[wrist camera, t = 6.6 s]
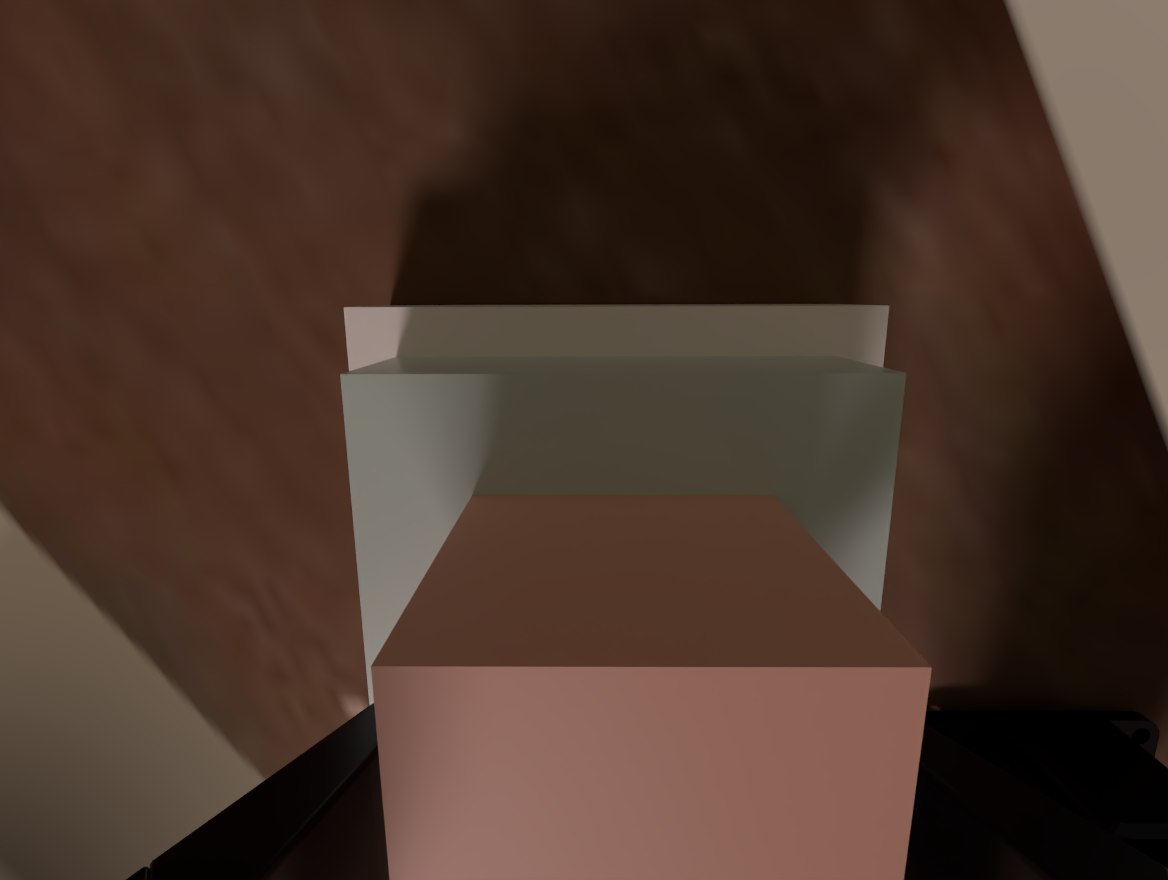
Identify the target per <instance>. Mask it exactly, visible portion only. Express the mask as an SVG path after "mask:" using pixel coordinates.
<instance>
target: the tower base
mask: <svg viewBox="0 0 1168 880" xmlns="http://www.w3.org/2000/svg"><path fill="white" fill-rule="evenodd" d="M888 313H889V306H887V305H856V304H608V305H382V306H360V307H344V317H345V329H346V340H347V352H348V364H349V372H346V373H343V374H340V377H341V388H342V399H343V411H344V422H345V433H346V445H347V456H348V467H349V479H350V490H351V501H352V513H353V524H354V535H355V546H356V558H357V569H358V580H359V592H360V603H361V614H362V626H363V637H364V648H365V660H366V671H367V682H368V694H369V705H371V704H373V703H374V697H373V685H372V674H371V665H372V664H373V662H374V660H375V659H376V657H377V655H378V653H379V652H380V650H381V648H382V647H383V645H384V643H385V642H386V640H387V638H388V637H389V635H390V633H391V631H392V630H393V628H394V626H395V625H396V623H397V621H398V620H399V618H400V616H401V615H402V613H403V611H404V609H405V608H406V606H407V604H408V603H409V601H410V599H411V598H412V596H413V594H414V593H415V591H416V589H417V588H418V586H419V584H420V582H421V581H422V579H423V577H424V576H425V574H426V572H427V571H428V569H429V567H430V566H431V564H432V562H433V560H434V559H435V557H436V555H437V554H438V552H439V550H440V549H441V547H442V545H443V544H444V542H445V540H446V538H447V537H448V535H449V533H450V532H451V530H452V528H453V527H454V525H455V523H456V522H457V520H458V518H459V516H460V515H461V513H462V511H463V510H464V508H465V506H466V505H467V503H468V501H469V500H470V498H471V496H472V495H774V496H775V497H776V498H777V499H778V500H779V502H780V503H781V504H782V505H783V506H784V507H785V508H786V509H787V510H788V511H789V512H790V514H791V515H792V516H793V517H794V518H795V519H796V520H797V521H798V522H799V523H800V524H801V526H802V527H803V528H804V529H805V530H806V531H807V532H808V533H809V534H810V535H811V536H812V538H813V539H814V540H815V541H816V542H817V543H818V544H819V545H820V546H821V547H822V548H823V550H824V551H825V552H826V553H827V554H828V555H829V556H830V557H831V558H832V559H833V560H834V562H835V563H836V564H837V565H838V566H839V567H840V568H841V569H842V570H843V571H844V572H845V573H846V575H847V576H848V577H849V578H850V579H851V580H852V581H853V582H854V583H855V584H856V585H857V587H858V588H859V589H860V590H861V591H862V592H863V593H864V594H865V595H866V596H867V597H868V599H869V600H870V601H871V602H872V603H873V604H874V605H875V606H876V607H877V608H878V609H879V611H880V610H881V601H882V591H883V582H884V573H885V564H886V555H887V546H888V537H889V528H890V518H891V509H892V500H893V491H894V482H895V473H896V464H897V454H898V445H899V436H900V427H901V418H902V409H903V400H904V391H905V381H906V373H904V372H900V371H896V370H892V369H888V368H884V367H883V363H884V353H885V343H886V333H887V323H888Z"/></svg>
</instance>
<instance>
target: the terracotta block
mask: <svg viewBox="0 0 1168 880" xmlns="http://www.w3.org/2000/svg"><path fill="white" fill-rule="evenodd" d="M931 670H932V667H931V666H930V665H929V664H928V663H927V662H926V661H925V660H924V658H923V657H922V656H921V655H920V654H919V653H918V652H917V651H916V650H915V649H914V648H913V646H912V645H911V644H910V643H909V642H908V641H907V640H906V639H905V638H904V637H903V636H902V634H901V633H900V632H899V631H898V630H897V629H896V628H895V627H894V626H893V625H892V624H891V623H890V621H889V620H888V619H887V618H886V617H885V616H884V615H883V614H882V613H881V612H880V611H879V609H878V608H877V607H876V606H875V605H874V604H873V603H872V602H871V601H870V600H869V599H868V597H867V596H866V595H865V594H864V593H863V592H862V591H861V590H860V589H859V588H858V587H857V585H856V584H855V583H854V582H853V581H852V580H851V579H850V578H849V577H848V576H847V575H846V573H845V572H844V571H843V570H842V569H841V568H840V567H839V566H838V565H837V564H836V563H835V562H834V560H833V559H832V558H831V557H830V556H829V555H828V554H827V553H826V552H825V551H824V550H823V548H822V547H821V546H820V545H819V544H818V543H817V542H816V541H815V540H814V539H813V538H812V536H811V535H810V534H809V533H808V532H807V531H806V530H805V529H804V528H803V527H802V526H801V524H800V523H799V522H798V521H797V520H796V519H795V518H794V517H793V516H792V515H791V514H790V512H789V511H788V510H787V509H786V508H785V507H784V506H783V505H782V504H781V503H780V502H779V500H778V499H777V498H776V497H775V496H774V495H472V496H471V498H470V500H469V501H468V503H467V505H466V506H465V508H464V510H463V511H462V513H461V515H460V516H459V518H458V520H457V522H456V523H455V525H454V527H453V528H452V530H451V532H450V533H449V535H448V537H447V538H446V540H445V542H444V544H443V545H442V547H441V549H440V550H439V552H438V554H437V555H436V557H435V559H434V560H433V562H432V564H431V566H430V567H429V569H428V571H427V572H426V574H425V576H424V577H423V579H422V581H421V582H420V584H419V586H418V588H417V589H416V591H415V593H414V594H413V596H412V598H411V599H410V601H409V603H408V604H407V606H406V608H405V609H404V611H403V613H402V615H401V616H400V618H399V620H398V621H397V623H396V625H395V626H394V628H393V630H392V631H391V633H390V635H389V637H388V638H387V640H386V642H385V643H384V645H383V647H382V648H381V650H380V652H379V653H378V655H377V657H376V659H375V660H374V662H373V664H372V665H371V674H372V685H373V697H374V708H375V719H376V731H377V742H378V753H379V765H380V776H381V788H382V799H383V810H384V822H385V833H386V845H387V856H388V867H389V879H390V880H904V874H905V867H906V859H907V852H908V844H909V837H910V829H911V821H912V814H913V806H914V799H915V791H916V783H917V776H918V768H919V761H920V753H921V746H922V738H923V730H924V723H925V715H926V708H927V700H928V692H929V685H930V677H931Z"/></svg>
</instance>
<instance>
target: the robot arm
mask: <svg viewBox="0 0 1168 880" xmlns="http://www.w3.org/2000/svg"><path fill="white" fill-rule="evenodd" d="M938 728H942V729H941V731H939V732H938V731H936V729H938ZM1133 732H1134V733H1133ZM1158 739H1159V729H1158V728H1157V726H1156V725H1155V724H1154V723H1153V722H1151V721H1150V720H1149V719H1147V718H1146V717H1145V716H1143V715H1142V714H1140V713H1139V712H1133V711H1096V710H1007V711H931V712H928V713H926V715H925V723H924V730H923V738H922V746H921V753H920V761H919V768H918V776H917V783H916V791H915V799H914V806H913V814H912V821H911V829H910V837H909V844H908V852H907V859H906V867H905V874H904V880H1168V768H1167V767H1165V766H1164V765H1163V764H1162V763H1161V762H1159V761H1158V760H1157V759H1156V758H1154V756H1155V752H1156V748H1157V743H1158ZM126 880H390V879H389V867H388V856H387V845H386V833H385V822H384V810H383V799H382V788H381V776H380V765H379V753H378V742H377V731H376V719H375V708H374V703H373V704H371V705H370V706H368V707H367V708H366V709H364V710H363V711H361V712H360V713H359V714H357V715H356V716H354V717H353V718H352V719H350V720H349V721H347V722H346V723H345V724H343V725H342V726H340V727H339V728H338V729H336V730H335V731H333V732H332V733H331V734H329V735H328V736H326V737H325V738H324V739H322V740H321V741H319V742H318V743H317V744H315V745H314V746H312V747H311V748H310V749H308V750H307V751H306V752H304V753H303V754H301V755H300V756H299V757H297V758H296V759H294V760H293V761H292V762H290V763H289V764H287V765H286V766H285V767H283V768H282V769H280V770H279V771H278V772H276V773H275V774H273V775H272V776H271V777H269V778H268V779H266V780H265V781H264V782H262V783H261V784H259V785H258V786H257V787H255V788H254V789H252V790H251V791H250V792H248V793H247V794H245V795H244V796H243V797H241V798H240V799H238V800H237V801H236V802H234V803H233V804H232V805H230V806H229V807H227V808H226V809H224V810H223V811H222V812H220V813H219V814H217V815H216V816H215V817H213V818H212V819H210V820H209V821H208V822H206V823H205V824H203V825H202V826H201V827H199V828H198V829H196V830H195V831H194V832H192V833H191V834H189V835H188V836H187V837H185V838H184V839H182V840H181V841H180V842H178V843H177V844H175V845H174V846H172V847H171V848H170V849H168V850H167V851H165V852H164V853H163V854H161V855H160V856H158V857H157V858H156V859H154V860H153V861H152V862H151V864H150V869H149V868H148V867H143V868H141V869H140V870H139V871H137V872H136V873H134V874H133V875H132V876H130V877H129V878H128V879H126Z"/></svg>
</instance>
